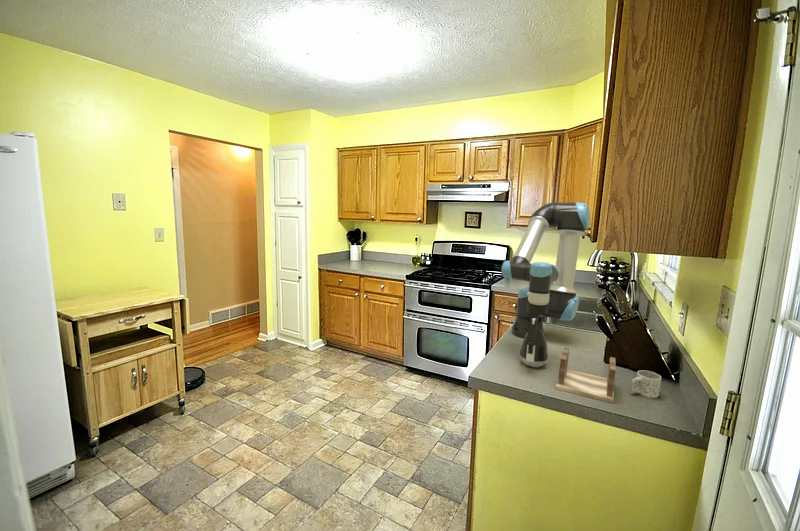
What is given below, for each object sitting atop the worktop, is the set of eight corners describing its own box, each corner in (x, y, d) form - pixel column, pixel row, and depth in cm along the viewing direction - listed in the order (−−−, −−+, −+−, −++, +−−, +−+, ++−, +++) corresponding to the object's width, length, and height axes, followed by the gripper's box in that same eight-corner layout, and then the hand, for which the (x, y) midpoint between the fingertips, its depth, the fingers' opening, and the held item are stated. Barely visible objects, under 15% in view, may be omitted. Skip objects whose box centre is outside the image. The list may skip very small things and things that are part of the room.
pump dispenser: (524, 357, 148) (527, 321, 145) (550, 364, 141) (553, 327, 139) (514, 364, 140) (517, 327, 137) (541, 372, 133) (545, 334, 131)
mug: (646, 387, 124) (648, 369, 123) (663, 397, 118) (666, 378, 117) (621, 389, 122) (624, 371, 121) (638, 399, 116) (641, 380, 115)
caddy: (561, 371, 135) (564, 345, 134) (613, 383, 127) (616, 355, 125) (555, 388, 122) (558, 360, 120) (613, 403, 113) (617, 373, 112)
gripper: (533, 295, 149) (529, 343, 152) (520, 308, 128) (516, 364, 131) (553, 297, 145) (548, 347, 149) (542, 311, 124) (537, 369, 127)
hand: (533, 355), depth 140 cm, fingers open, 13 cm apart
